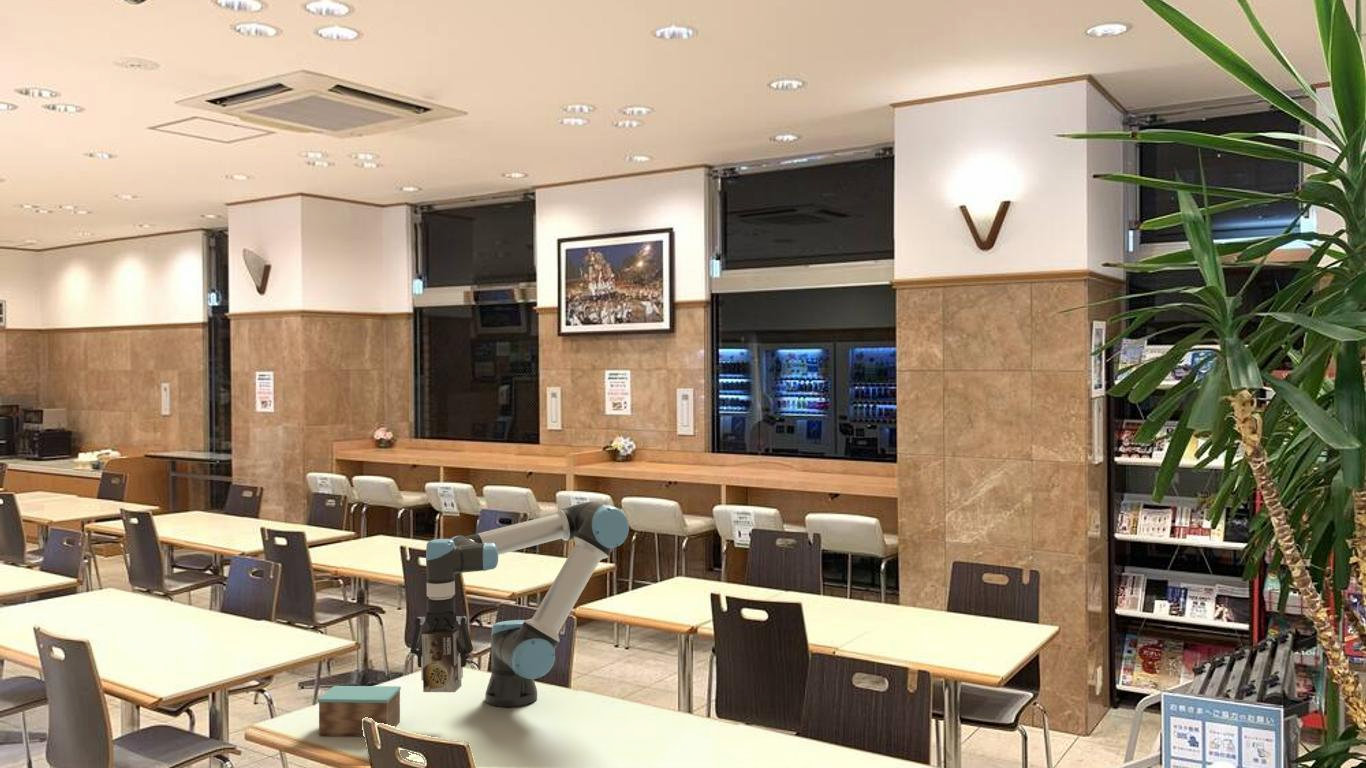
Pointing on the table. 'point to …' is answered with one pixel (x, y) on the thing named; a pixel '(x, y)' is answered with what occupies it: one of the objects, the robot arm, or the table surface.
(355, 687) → the lid
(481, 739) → the table surface
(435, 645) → the coffee box
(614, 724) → the table surface
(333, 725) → the box
